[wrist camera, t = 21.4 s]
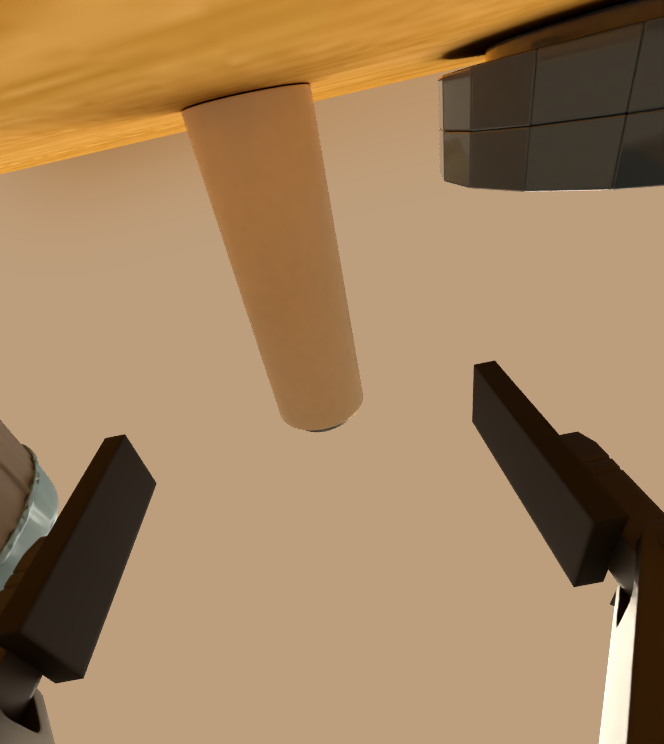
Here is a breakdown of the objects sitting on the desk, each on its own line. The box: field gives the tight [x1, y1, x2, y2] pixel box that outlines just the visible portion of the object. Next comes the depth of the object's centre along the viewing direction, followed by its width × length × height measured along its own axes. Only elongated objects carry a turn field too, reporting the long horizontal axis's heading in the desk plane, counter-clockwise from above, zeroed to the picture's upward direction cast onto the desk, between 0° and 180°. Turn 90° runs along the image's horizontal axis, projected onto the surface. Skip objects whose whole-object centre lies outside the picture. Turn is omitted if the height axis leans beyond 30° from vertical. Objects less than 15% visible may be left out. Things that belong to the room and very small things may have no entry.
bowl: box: [438, 0, 664, 192], centre depth 15 cm, size 16×16×4 cm
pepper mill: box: [182, 84, 363, 432], centre depth 20 cm, size 5×5×17 cm
